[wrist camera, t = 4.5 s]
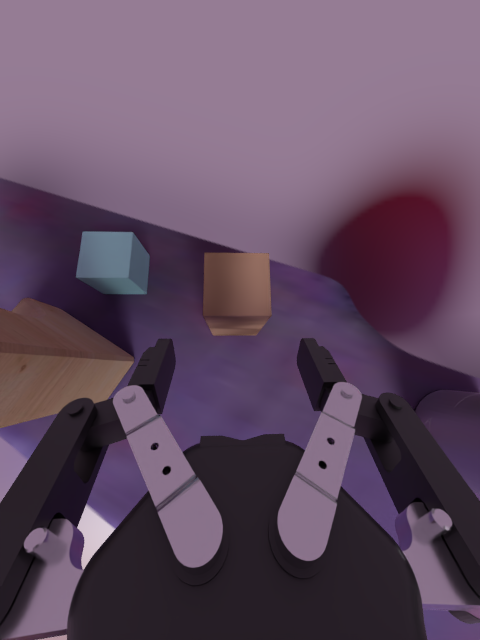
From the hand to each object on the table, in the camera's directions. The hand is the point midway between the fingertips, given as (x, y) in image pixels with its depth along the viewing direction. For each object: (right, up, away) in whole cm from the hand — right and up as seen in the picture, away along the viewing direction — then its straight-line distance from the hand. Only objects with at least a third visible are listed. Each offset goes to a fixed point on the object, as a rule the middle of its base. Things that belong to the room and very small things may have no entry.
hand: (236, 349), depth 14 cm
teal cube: (-14, +7, +13) cm, 20 cm away
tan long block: (0, +2, +13) cm, 13 cm away
